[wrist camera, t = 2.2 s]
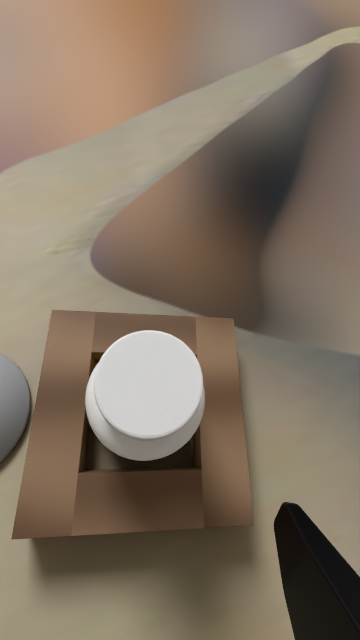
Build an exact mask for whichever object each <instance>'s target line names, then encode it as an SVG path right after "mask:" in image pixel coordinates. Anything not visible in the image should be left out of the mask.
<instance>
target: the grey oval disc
mask: <svg viewBox="0 0 360 640" xmlns="http://www.w3.org/2000/svg"><path fill="white" fill-rule="evenodd" d="M30 408H31V394H30V388H29V385H28V382H27V380H26V378H25V376H24V374H23V372H22V371H21V370H20V368H19V367H18V366H17V365H16V364H15V363H14V362H12V361H11V360H10V359H8V358H7V357H5V356H3V355H2V354H0V462H1V461H2V460H3V459H4V458H5V457H6V456H7V455H8V454H9V453H10V452H11V451H12V449H13V448H14V447H15V445H16V444H17V442H18V441H19V439H20V438H21V436H22V434H23V432H24V430H25V427H26V425H27V422H28V418H29V414H30Z"/></svg>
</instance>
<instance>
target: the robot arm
mask: <svg viewBox="0 0 360 640" xmlns="http://www.w3.org/2000/svg"><path fill="white" fill-rule="evenodd" d="M274 532H275V538H276V545H277V551H278V558H279V565H280V571H281V578H282V584H283V590H284V594H285V599H286V603H287V608H288V612H289V616H290V620H291V624H292V628H293V633H294V637H295V640H360V577H359V576H358V575H357V573H356V572H355V571H354V570H353V569H352V567H351V566H350V565H349V564H348V563H347V562H346V560H345V559H344V558H343V557H342V556H341V554H340V553H339V552H338V551H337V550H336V549H335V547H334V546H333V545H332V544H331V543H330V542H329V540H328V539H327V538H326V537H325V536H324V534H323V533H322V532H321V531H320V530H319V529H318V527H317V526H316V525H315V524H314V523H313V521H312V520H311V519H310V518H309V517H308V516H307V514H306V513H305V512H304V511H303V510H302V508H301V507H300V506H299V505H297V504H295V503H289V502H284V503H283V504H282V505H281V507H280V509H279V511H278V514H277V516H276V518H275V521H274Z"/></svg>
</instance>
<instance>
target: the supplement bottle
mask: <svg viewBox="0 0 360 640" xmlns="http://www.w3.org/2000/svg"><path fill="white" fill-rule="evenodd" d="M85 406H86V412H87V417H88V420H89V423H90V426H91V428H92V430H93V432H94V433H95V435H96V436H97V438H98V439H99V440H100V441H101V443H102V444H103V445H104V446H105V447H107V448H108V449H109V450H111V451H112V452H114V453H115V454H117V455H119V456H121V457H124V458H127V459H131V460H137V461H148V460H155V459H159V458H163V457H165V456H168V455H170V454H172V453H174V452H175V451H177V450H178V449H180V448H181V447H182V446H184V445H185V444H186V443H187V442H188V441H189V440H190V438H191V437H192V436H193V434H194V433H195V432H196V430H197V428H198V426H199V424H200V422H201V419H202V416H203V412H204V406H205V391H204V385H203V375H202V371H201V367H200V365H199V362H198V360H197V358H196V356H195V355H194V353H193V352H192V351H191V349H190V348H189V347H188V346H187V345H186V344H185V343H184V342H182V341H181V340H180V339H178V338H176V337H174V336H172V335H170V334H168V333H164V332H161V331H153V330H144V331H138V332H134V333H131V334H128V335H126V336H124V337H122V338H120V339H119V340H117V341H116V342H114V343H113V344H112V345H111V346H110V347H109V348H108V349H107V350H106V352H105V353H104V354H103V356H102V357H101V359H100V361H99V363H98V364H97V365H96V367H95V368H94V370H93V372H92V374H91V376H90V378H89V381H88V384H87V389H86V396H85Z"/></svg>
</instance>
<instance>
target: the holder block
mask: <svg viewBox="0 0 360 640" xmlns="http://www.w3.org/2000/svg"><path fill="white" fill-rule="evenodd" d="M144 330H153V331H161V332H164V333H168V334H170V335H172V336H174V337H176V338H178V339H180V340H181V341H182V342H184V343H185V344H186V345H187V346H188V347H189V348H190V349H191V351H192V352H193V353H194V355H195V356H196V358H197V360H198V362H199V365H200V367H201V371H202V375H203V385H204V391H205V406H204V412H203V416H202V419H201V422H200V424H199V426H198V428H197V430H196V432H195V433H194V434H193V436H192V444H193V467H181V468H144V469H107V470H85V465H86V456H87V446H88V436H89V426H90V423H89V420H88V417H87V412H86V406H85V396H86V389H87V384H88V381H89V378H90V376H91V374H92V372H93V370H94V368H95V367H96V363H99V361H100V359H101V357H102V356H103V354H104V353H105V352H106V350H107V349H108V348H109V347H110V346H111V345H112V344H113V343H114V342H116V341H117V340H119V339H120V338H122V337H124V336H126V335H128V334H131V333H134V332H138V331H144ZM251 525H254V520H253V510H252V500H251V490H250V480H249V470H248V460H247V450H246V439H245V429H244V419H243V409H242V399H241V389H240V379H239V369H238V359H237V348H236V338H235V328H234V319H231V318H211V317H190V316H169V315H148V314H127V313H106V312H85V311H64V310H52V314H51V319H50V325H49V331H48V336H47V342H46V348H45V353H44V359H43V364H42V370H41V376H40V381H39V387H38V393H37V398H36V404H35V410H34V415H33V421H32V426H31V432H30V438H29V443H28V449H27V455H26V460H25V466H24V472H23V477H22V483H21V488H20V494H19V500H18V505H17V511H16V517H15V522H14V528H13V534H12V539H27V538H44V537H61V536H78V535H96V534H113V533H130V532H147V531H165V530H182V529H199V528H216V527H234V526H251Z"/></svg>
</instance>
